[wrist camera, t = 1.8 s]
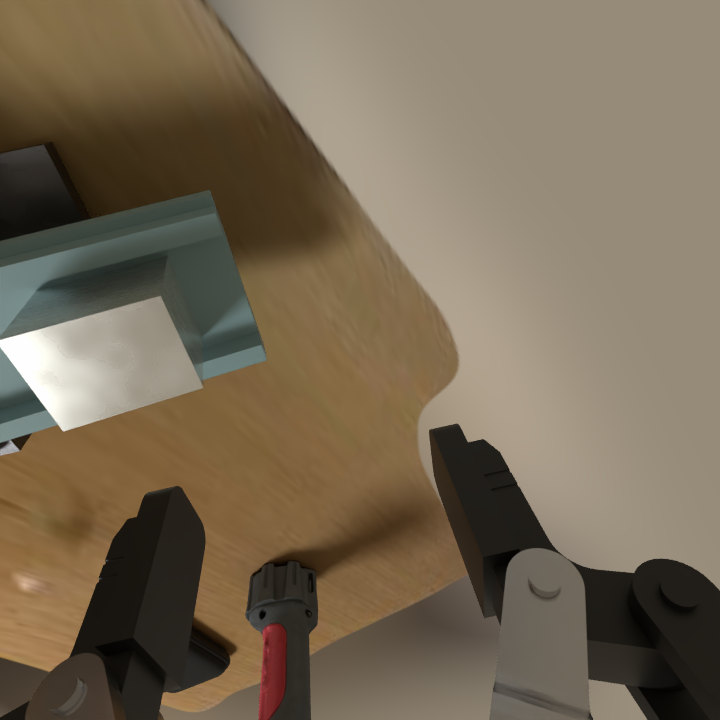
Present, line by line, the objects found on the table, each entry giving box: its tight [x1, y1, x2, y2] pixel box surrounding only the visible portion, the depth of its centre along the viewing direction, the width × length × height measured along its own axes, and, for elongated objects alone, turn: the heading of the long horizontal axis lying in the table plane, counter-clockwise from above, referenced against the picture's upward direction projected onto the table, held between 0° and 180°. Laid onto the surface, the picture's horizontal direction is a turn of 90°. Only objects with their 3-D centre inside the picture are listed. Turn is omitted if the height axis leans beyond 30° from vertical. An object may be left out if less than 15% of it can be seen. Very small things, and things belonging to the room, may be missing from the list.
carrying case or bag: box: [168, 628, 230, 693], centre depth 54 cm, size 11×3×15 cm
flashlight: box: [246, 561, 318, 720], centre depth 40 cm, size 8×8×23 cm
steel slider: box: [0, 256, 203, 431], centre depth 20 cm, size 5×6×5 cm
